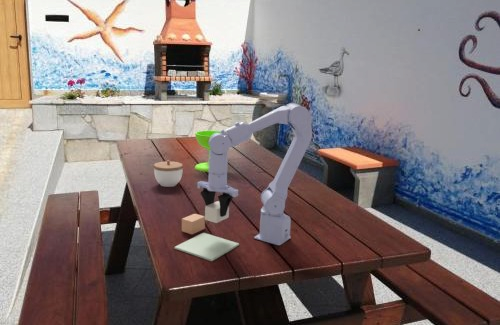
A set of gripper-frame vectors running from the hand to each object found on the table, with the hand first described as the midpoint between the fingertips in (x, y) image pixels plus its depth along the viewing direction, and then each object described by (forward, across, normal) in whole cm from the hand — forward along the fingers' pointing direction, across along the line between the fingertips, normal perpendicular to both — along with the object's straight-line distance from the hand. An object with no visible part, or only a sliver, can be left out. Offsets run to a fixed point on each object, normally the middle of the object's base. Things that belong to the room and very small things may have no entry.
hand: (216, 213), depth 142 cm
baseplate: (+8, +2, -6) cm, 11 cm away
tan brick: (+9, -10, +1) cm, 14 cm away
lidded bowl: (+9, -53, +35) cm, 64 cm away
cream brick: (+2, 0, 0) cm, 2 cm away
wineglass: (+9, -58, +71) cm, 92 cm away
